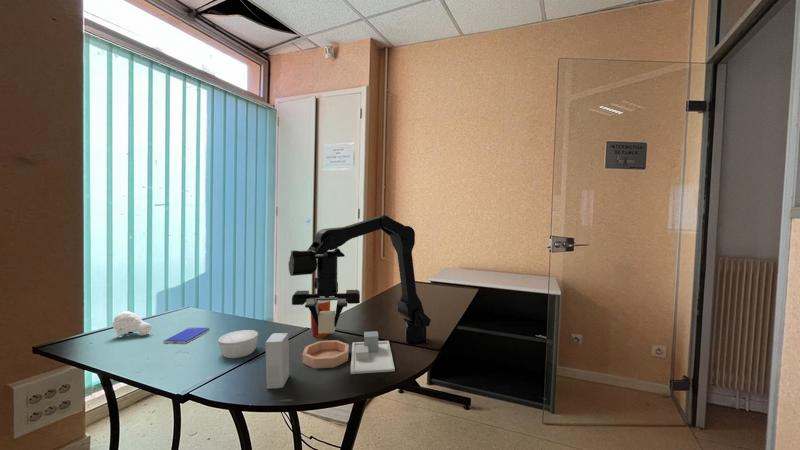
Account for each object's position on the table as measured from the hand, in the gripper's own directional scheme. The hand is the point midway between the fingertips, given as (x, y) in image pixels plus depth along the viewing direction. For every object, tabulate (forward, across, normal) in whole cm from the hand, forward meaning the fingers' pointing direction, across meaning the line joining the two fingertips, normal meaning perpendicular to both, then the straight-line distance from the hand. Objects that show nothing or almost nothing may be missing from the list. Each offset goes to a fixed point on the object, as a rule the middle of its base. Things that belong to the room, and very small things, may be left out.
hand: (326, 326), depth 95 cm
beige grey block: (+10, -10, -2) cm, 15 cm away
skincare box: (+12, +12, +9) cm, 19 cm away
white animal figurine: (+12, +71, -33) cm, 79 cm away
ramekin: (+12, +28, -12) cm, 33 cm away
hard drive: (+12, +51, -29) cm, 60 cm away
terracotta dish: (+11, 0, -4) cm, 12 cm away
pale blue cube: (+10, -13, -7) cm, 18 cm away
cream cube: (+1, 0, 0) cm, 1 cm away
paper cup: (+11, +4, -23) cm, 26 cm away
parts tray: (+11, -13, -2) cm, 17 cm away
